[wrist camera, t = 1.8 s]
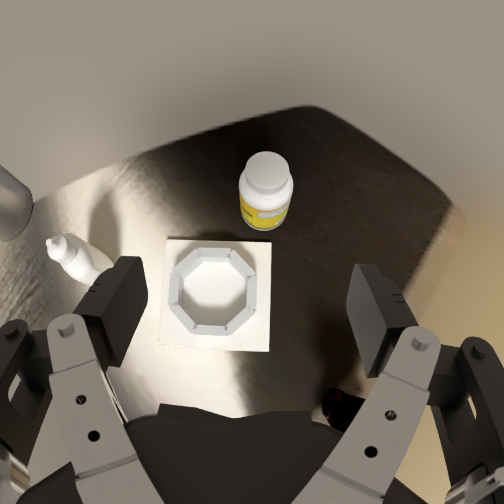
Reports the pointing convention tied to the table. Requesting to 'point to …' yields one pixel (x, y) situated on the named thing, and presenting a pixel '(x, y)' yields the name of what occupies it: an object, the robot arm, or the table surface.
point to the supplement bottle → (265, 190)
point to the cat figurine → (341, 408)
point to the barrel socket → (216, 295)
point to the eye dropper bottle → (78, 257)
